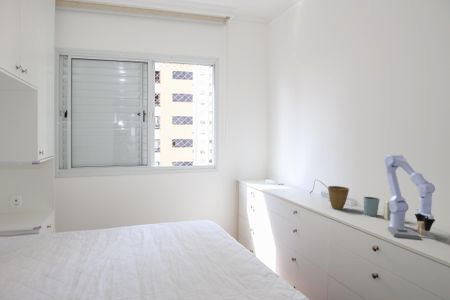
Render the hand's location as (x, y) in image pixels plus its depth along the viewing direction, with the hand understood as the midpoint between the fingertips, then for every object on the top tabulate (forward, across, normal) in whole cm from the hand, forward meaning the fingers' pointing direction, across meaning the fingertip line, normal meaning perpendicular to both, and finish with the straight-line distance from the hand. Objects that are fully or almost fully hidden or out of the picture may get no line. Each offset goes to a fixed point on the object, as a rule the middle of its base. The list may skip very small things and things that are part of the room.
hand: (423, 228), depth 179 cm
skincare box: (+4, -34, -6) cm, 35 cm away
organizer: (+4, 0, -11) cm, 12 cm away
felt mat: (+4, 0, 0) cm, 4 cm away
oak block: (+3, 0, 0) cm, 3 cm away
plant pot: (+4, -59, -34) cm, 68 cm away
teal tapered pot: (+4, -44, -14) cm, 47 cm away
